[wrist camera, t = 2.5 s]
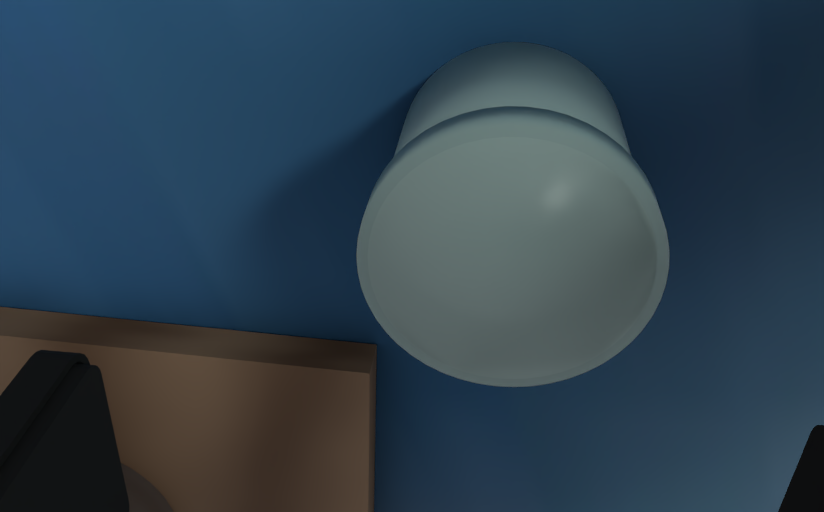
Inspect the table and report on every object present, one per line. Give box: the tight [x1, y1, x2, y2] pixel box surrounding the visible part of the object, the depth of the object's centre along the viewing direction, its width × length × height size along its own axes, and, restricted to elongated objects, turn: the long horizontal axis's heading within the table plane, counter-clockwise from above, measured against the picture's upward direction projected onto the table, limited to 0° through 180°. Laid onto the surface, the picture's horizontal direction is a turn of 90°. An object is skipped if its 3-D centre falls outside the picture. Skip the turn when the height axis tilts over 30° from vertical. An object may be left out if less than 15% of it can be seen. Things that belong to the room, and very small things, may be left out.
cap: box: [356, 42, 669, 387], centre depth 16 cm, size 5×5×5 cm
